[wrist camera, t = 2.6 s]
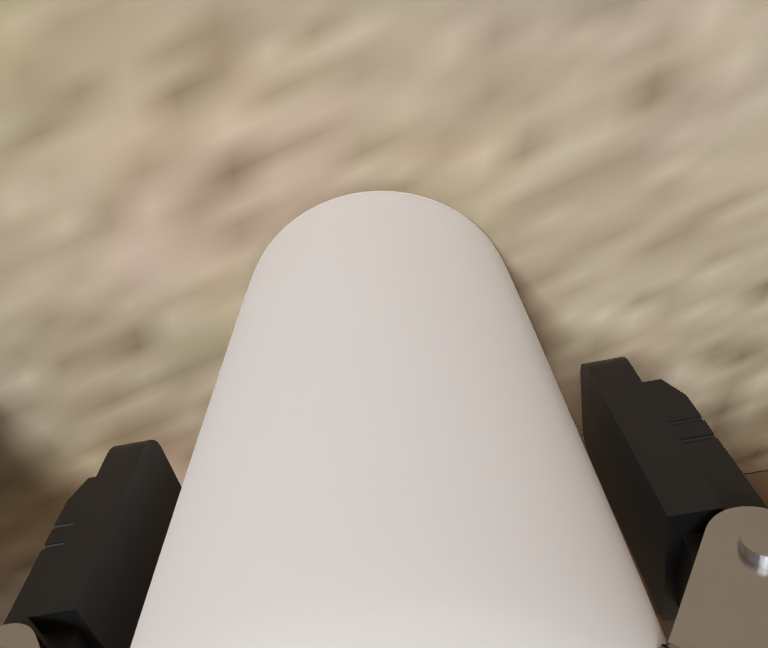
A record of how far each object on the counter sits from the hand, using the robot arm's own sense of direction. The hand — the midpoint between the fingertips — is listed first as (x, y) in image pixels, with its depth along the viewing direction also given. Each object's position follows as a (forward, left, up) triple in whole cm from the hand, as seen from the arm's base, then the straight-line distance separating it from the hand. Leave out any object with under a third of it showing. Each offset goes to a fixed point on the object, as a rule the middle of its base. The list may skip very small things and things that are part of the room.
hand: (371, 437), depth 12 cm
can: (0, 0, -5) cm, 5 cm away
